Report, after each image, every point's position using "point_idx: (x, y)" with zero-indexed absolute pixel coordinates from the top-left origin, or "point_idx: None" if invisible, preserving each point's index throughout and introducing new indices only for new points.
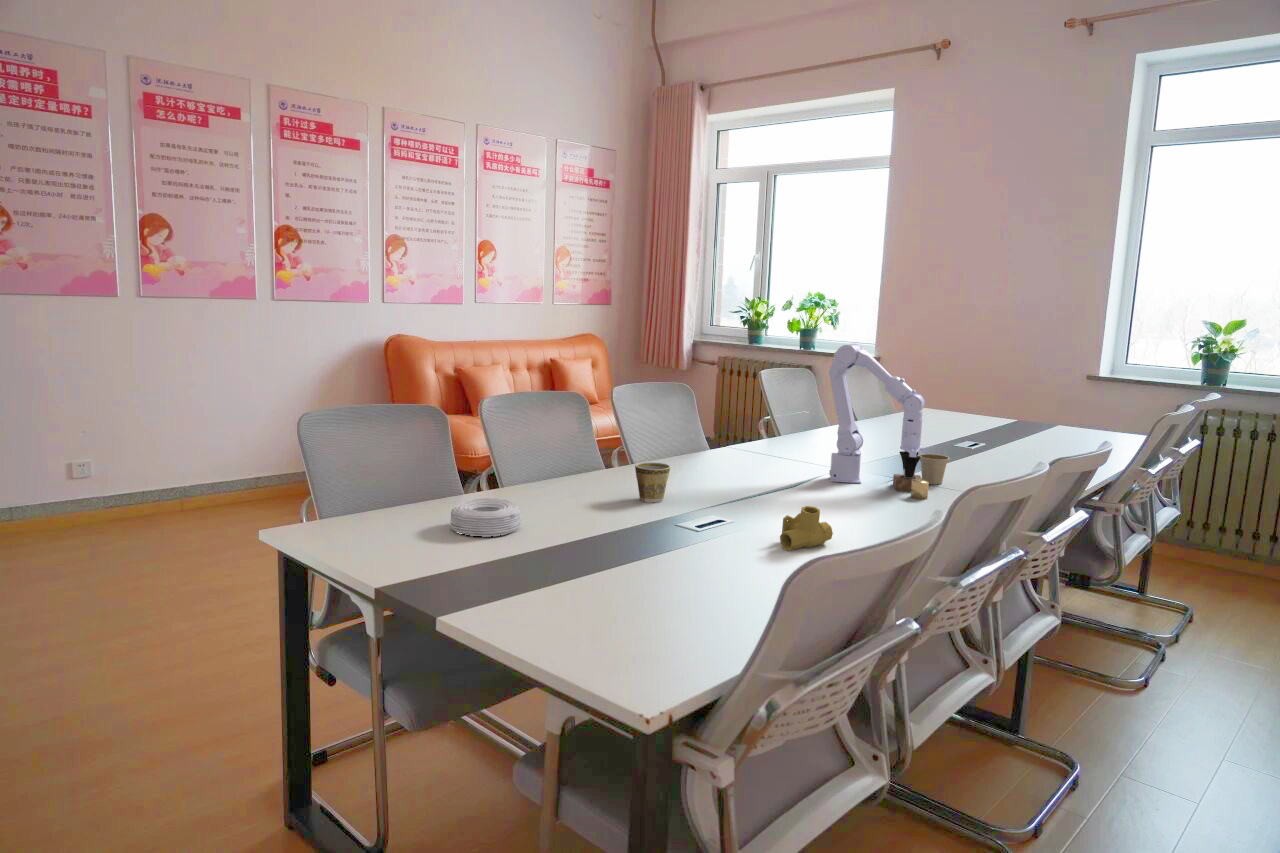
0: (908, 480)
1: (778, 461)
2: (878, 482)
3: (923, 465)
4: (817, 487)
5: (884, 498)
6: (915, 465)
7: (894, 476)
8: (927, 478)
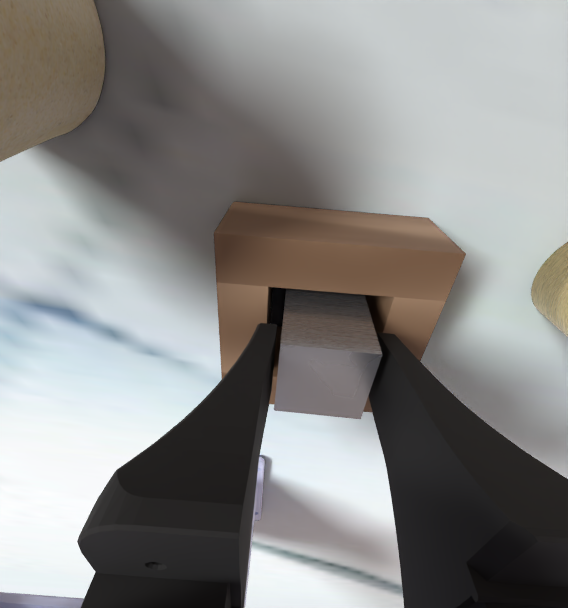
0: (421, 352)
1: (11, 560)
2: (202, 396)
3: None
4: (352, 540)
5: (554, 426)
6: (481, 427)
7: None
8: (76, 103)
